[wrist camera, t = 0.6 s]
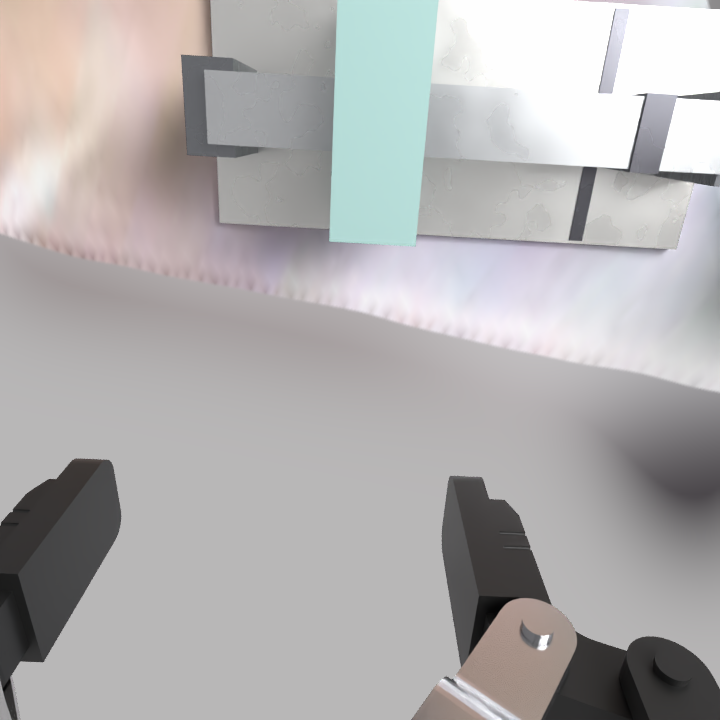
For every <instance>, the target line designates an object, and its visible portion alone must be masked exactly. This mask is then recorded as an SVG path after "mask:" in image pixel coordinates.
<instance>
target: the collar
mask: <svg viewBox="0 0 720 720" xmlns="http://www.w3.org/2000/svg"><path fill="white" fill-rule="evenodd" d="M438 1H439V0H337V28H336V57H335V87H334V117H333V147H332V176H331V206H330V236H329V242H346V243H363V244H381V245H398V246H416V236H417V225H418V214H419V204H420V193H421V182H422V172H423V161H424V150H425V140H426V129H427V118H428V108H429V97H430V86H431V76H432V65H433V55H434V44H435V33H436V23H437V12H438Z"/></svg>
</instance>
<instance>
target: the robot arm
mask: <svg viewBox="0 0 720 720" xmlns="http://www.w3.org/2000/svg"><path fill="white" fill-rule="evenodd" d="M120 522H121V510H120V503H119V498H118V492H117V486H116V481H115V474H114V469H113V465H112V463H111V462H110V461H109V460H97V459H74V460H72V461H71V462H70V464H69V465H68V466H67V467H66V468H65V470H64V471H63V472H62V473H61V474H60V475H59V477H58V478H57V479H49V480H47V481H45V482H44V483H42V484H40V485H39V486H37V487H36V488H34V489H33V490H31V491H30V492H28V493H27V494H26V495H25V496H24V497H23V498H22V500H21V501H20V502H19V503H18V504H17V505H16V506H15V507H14V509H13V512H10V513H9V514H8V515H7V517H6V518H5V519H4V520H3V521H2V522H1V526H0V720H20V714H19V709H18V703H17V698H16V692H15V687H14V682H13V679H12V676H11V675H12V673H13V672H14V670H15V669H16V667H17V665H18V664H19V662H20V661H26V662H44V660H45V658H46V657H47V655H48V653H49V652H50V650H51V648H52V647H53V645H54V643H55V641H56V640H57V638H58V636H59V635H60V633H61V631H62V629H63V628H64V626H65V624H66V623H67V621H68V619H69V618H70V616H71V614H72V613H73V611H74V609H75V607H76V606H77V604H78V602H79V601H80V599H81V597H82V596H83V594H84V592H85V590H86V589H87V587H88V585H89V584H90V582H91V580H92V579H93V577H94V575H95V573H96V572H97V569H98V568H99V567H100V565H101V563H102V561H103V560H104V558H105V556H106V554H107V553H108V551H109V550H110V548H111V546H112V545H113V543H114V541H115V539H116V537H117V535H118V532H119V528H120ZM442 552H443V559H444V565H445V571H446V577H447V584H448V590H449V596H450V602H451V608H452V614H453V621H454V626H455V632H456V639H457V645H458V651H459V657H460V663H461V669H460V670H459V672H458V673H457V674H456V676H455V677H454V678H453V679H452V680H451V679H450V678H448V677H444V678H442V679H441V680H440V681H439V682H438V683H437V685H436V686H435V687H434V689H433V690H432V691H431V693H430V694H429V696H428V697H427V698H426V700H425V701H424V703H423V704H422V705H421V707H420V708H419V710H418V711H417V713H416V714H415V716H414V717H413V718H412V720H720V689H719V687H718V685H717V683H716V681H715V679H714V678H713V676H712V674H711V673H710V671H709V669H708V668H707V667H706V666H705V664H704V663H703V662H702V661H701V660H700V659H699V658H698V657H697V656H695V655H694V654H693V653H692V652H690V651H689V650H687V649H686V648H684V647H683V646H681V645H679V644H677V643H675V642H672V641H670V640H667V639H664V638H659V637H642V638H639V639H636V640H635V641H633V642H632V643H631V644H630V645H629V647H628V650H627V651H625V650H622V649H619V648H616V647H612V646H609V645H606V644H603V643H600V642H597V641H594V640H591V639H589V638H587V637H585V636H583V635H581V634H579V633H577V632H576V631H575V629H574V627H573V625H572V624H571V622H570V621H569V620H568V618H567V617H566V616H565V615H564V614H563V613H562V612H561V611H559V610H558V609H557V608H555V607H553V606H552V605H551V602H550V599H549V597H548V594H547V591H546V589H545V586H544V583H543V580H542V578H541V575H540V572H539V569H538V567H537V564H536V561H535V558H534V556H533V553H532V551H531V550H530V545H529V542H528V539H527V537H526V536H525V531H524V528H523V526H522V523H521V520H520V517H519V515H518V514H517V513H516V512H515V511H514V510H513V509H512V508H511V506H509V504H508V503H507V502H506V501H505V500H493V499H489V497H488V494H487V491H486V488H485V484H484V481H483V479H482V478H481V477H465V476H450V478H449V481H448V488H447V495H446V503H445V511H444V518H443V526H442Z"/></svg>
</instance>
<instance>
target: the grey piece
mask: <svg viewBox="0 0 720 720" xmlns="http://www.w3.org/2000/svg"><path fill="white" fill-rule="evenodd" d="M210 5H211V29H212V53H213V57H208V56H192V55H181V60H182V76H183V92H184V108H185V125H186V141H187V155H195V156H212V157H217V172H218V196H219V219H220V223H229V224H246V225H263V226H280V227H298V228H315V229H330V206H331V176H332V147H333V117H334V87H335V57H336V28H337V0H210ZM694 183H697V184H703V185H709V186H718V187H720V10H708V9H692V8H676V7H660V6H644V5H628V4H612V3H596V2H580V1H564V0H439V1H438V12H437V23H436V33H435V44H434V55H433V65H432V76H431V86H430V97H429V108H428V118H427V129H426V140H425V150H424V161H423V172H422V182H421V193H420V204H419V214H418V225H417V234H418V235H435V236H452V237H470V238H487V239H504V240H521V241H539V242H556V243H573V244H590V245H607V246H625V247H642V248H659V249H676V248H677V245H678V241H679V237H680V234H681V230H682V227H683V223H684V219H685V216H686V212H687V208H688V205H689V201H690V198H691V194H692V190H693V187H694Z"/></svg>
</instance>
